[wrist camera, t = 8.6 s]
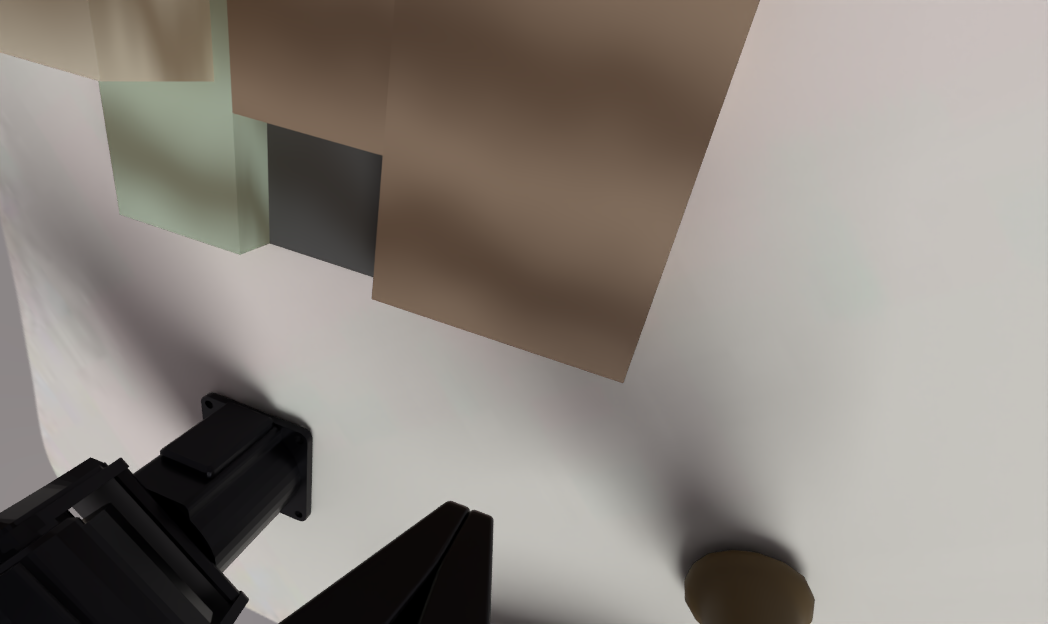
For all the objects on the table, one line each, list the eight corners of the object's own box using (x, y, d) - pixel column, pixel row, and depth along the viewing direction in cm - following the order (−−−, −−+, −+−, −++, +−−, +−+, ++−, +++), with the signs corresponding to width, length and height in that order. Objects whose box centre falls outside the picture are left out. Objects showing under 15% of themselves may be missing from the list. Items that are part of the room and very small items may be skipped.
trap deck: (628, 356, 20) (623, 383, 18) (161, 204, 24) (119, 214, 22) (836, -232, 12) (861, -285, 11) (98, -325, 16) (25, -376, 14)
